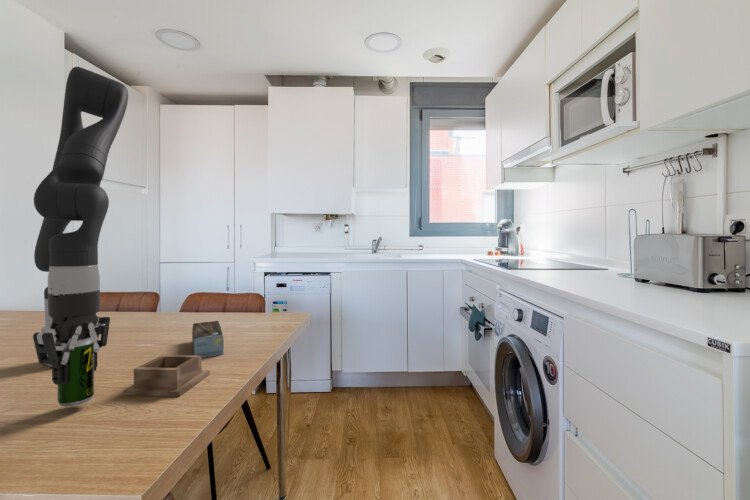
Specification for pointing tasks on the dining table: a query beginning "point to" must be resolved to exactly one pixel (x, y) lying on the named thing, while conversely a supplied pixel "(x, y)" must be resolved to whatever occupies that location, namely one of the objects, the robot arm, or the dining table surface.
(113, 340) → the dining table surface
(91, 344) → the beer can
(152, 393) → the walnut holder
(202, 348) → the beverage carton
